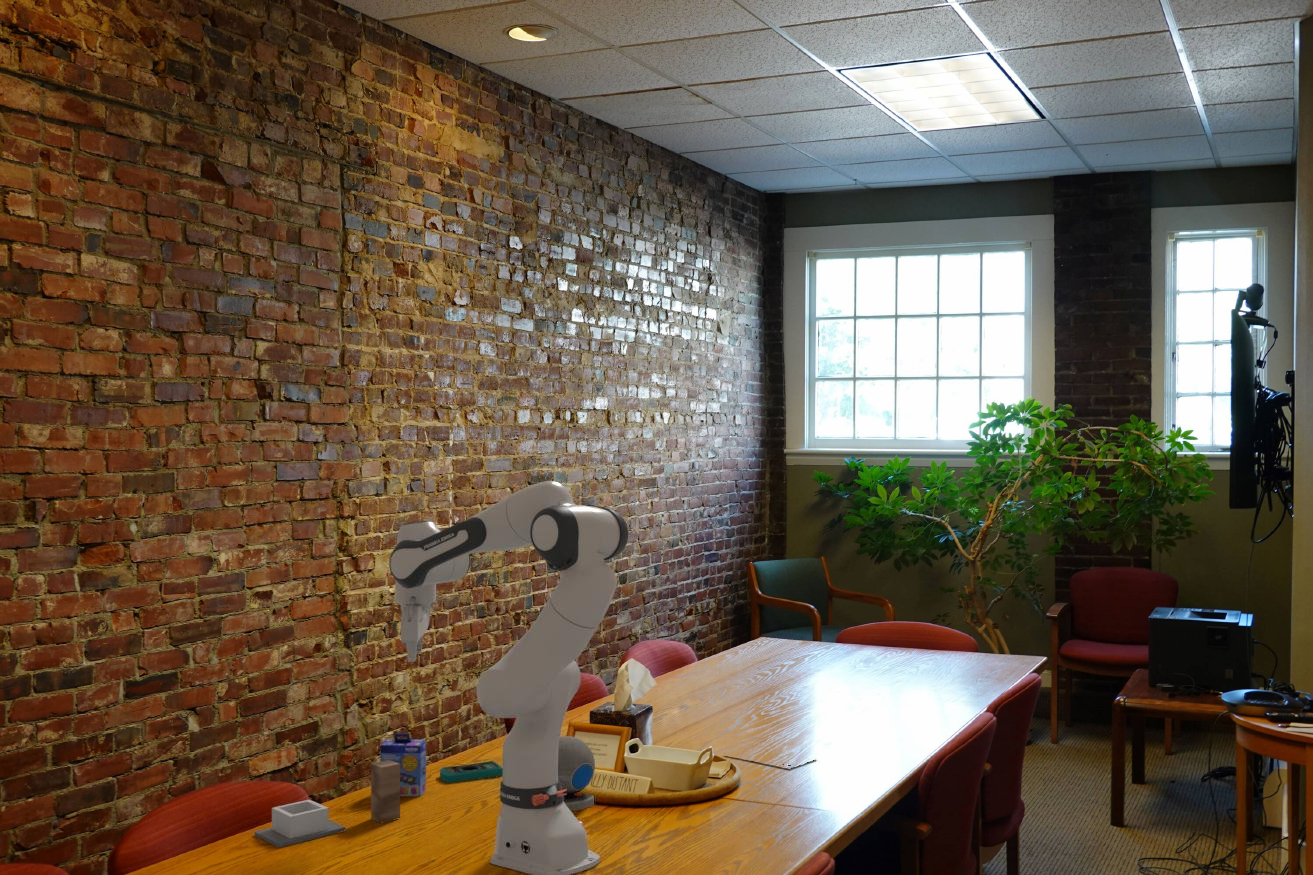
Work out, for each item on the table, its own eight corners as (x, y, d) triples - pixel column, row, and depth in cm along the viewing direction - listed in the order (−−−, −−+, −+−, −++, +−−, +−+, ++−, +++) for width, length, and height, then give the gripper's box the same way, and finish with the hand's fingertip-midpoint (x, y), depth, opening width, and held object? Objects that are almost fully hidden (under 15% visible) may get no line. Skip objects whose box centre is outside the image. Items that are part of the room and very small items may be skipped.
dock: (345, 830, 244) (345, 805, 244) (278, 847, 233) (278, 821, 233) (320, 819, 252) (320, 795, 252) (254, 835, 241) (254, 809, 241)
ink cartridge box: (379, 796, 268) (379, 734, 269) (385, 790, 274) (385, 728, 274) (421, 797, 268) (421, 734, 268) (426, 790, 274) (426, 729, 274)
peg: (400, 818, 252) (400, 763, 252) (381, 823, 249) (381, 767, 249) (389, 814, 255) (389, 759, 255) (371, 818, 252) (371, 763, 252)
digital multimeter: (437, 778, 286) (437, 766, 286) (494, 770, 292) (494, 759, 292) (445, 785, 279) (445, 773, 279) (504, 777, 286) (504, 765, 286)
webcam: (570, 791, 272) (570, 727, 273) (606, 802, 263) (606, 736, 264) (527, 802, 263) (527, 736, 264) (563, 814, 254) (562, 746, 254)
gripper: (424, 600, 243) (423, 666, 243) (435, 588, 264) (434, 648, 263) (394, 600, 243) (393, 666, 243) (407, 588, 263) (406, 648, 263)
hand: (414, 657), depth 253 cm, fingers open, 8 cm apart
